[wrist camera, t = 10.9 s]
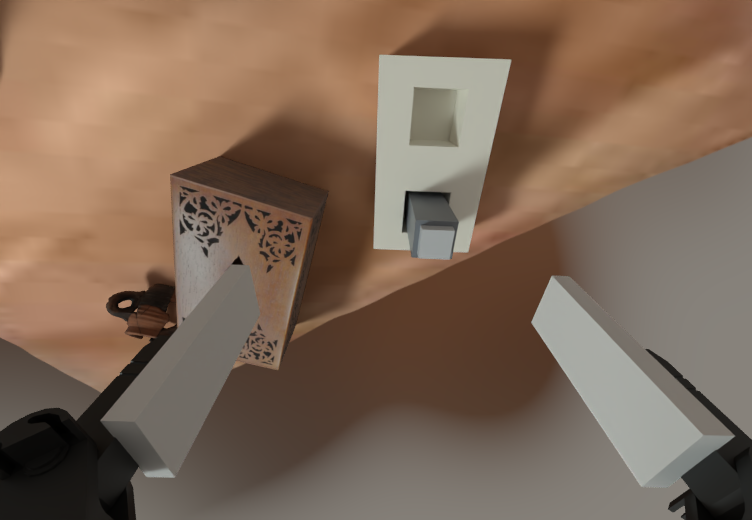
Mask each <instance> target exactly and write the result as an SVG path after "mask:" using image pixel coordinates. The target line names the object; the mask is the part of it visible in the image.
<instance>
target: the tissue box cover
mask: <svg viewBox="0 0 752 520" xmlns="http://www.w3.org/2000/svg"><path fill="white" fill-rule="evenodd" d="M170 180H171V201H172V223H173V245H174V267H175V289H176V311H177V329H178V327H179V326H180V325H181V324H182V323H183V321H184V320H185V319H186V318H187V317H188V315H189V314H190V313H191V312H192V311H193V310H194V308H195V307H196V306H197V305H198V304H199V302H200V301H201V300H202V299H203V298H204V296H205V295H206V294H207V293H208V292H209V290H210V289H211V288H212V287H213V286H214V284H215V283H216V282H217V281H218V280H219V279H220V277H221V276H222V275H223V274H224V273H225V271H226V270H227V269H228V268H229V267H230V265H249V266H250V271H251V275H252V279H253V284H254V288H255V293H256V297H257V301H258V306H259V310H260V316H259V317H258V319H257V321H256V323H255V325H254V327H253V329H252V331H251V333H250V335H249V337H248V339H247V340H246V342H245V344H244V346H243V348H242V350H241V352H240V354H239V356H238V358H237V360H236V361H240V362H244V363H249V364H253V365H257V366H262V367H266V368H271V369H276V370H279V367H280V365H281V362H282V359H283V357H284V354H285V352H286V349H287V346H288V344H289V341H290V339H291V336H292V334H293V331H294V328H295V326H296V322H297V318H298V314H299V310H300V306H301V302H302V298H303V294H304V290H305V286H306V281H307V277H308V273H309V269H310V265H311V261H312V257H313V253H314V249H315V245H316V241H317V237H318V233H319V229H320V225H321V220H322V216H323V212H324V208H325V204H326V200H327V196H328V192H329V191H325V190H322V189H319V188H316V187H313V186H310V185H307V184H304V183H301V182H298V181H295V180H291V179H288V178H285V177H282V176H279V175H276V174H273V173H270V172H267V171H264V170H260V169H257V168H254V167H251V166H248V165H245V164H242V163H239V162H236V161H233V160H230V159H226V158H223V157H220V156H219V157H217V158H214V159H211V160H208V161H206V162H203V163H200V164H198V165H195V166H192V167H189V168H187V169H184V170H181V171H179V172H176V173H173V174H170Z"/></svg>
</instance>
